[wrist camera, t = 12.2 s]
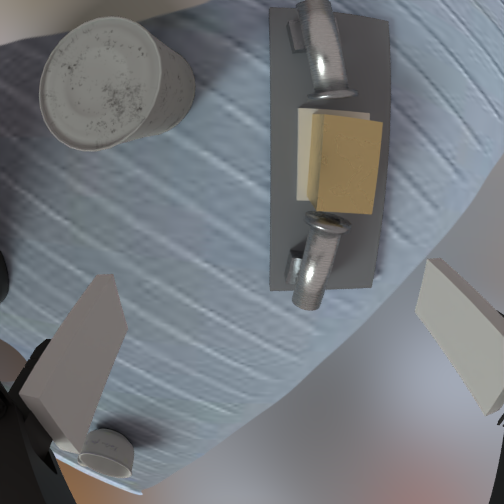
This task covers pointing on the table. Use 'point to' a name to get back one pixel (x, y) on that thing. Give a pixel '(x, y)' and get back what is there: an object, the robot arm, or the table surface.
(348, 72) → the board
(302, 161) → the off-white flat plate
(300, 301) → the shaft
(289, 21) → the shaft
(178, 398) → the table surface
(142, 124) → the speckled tin can
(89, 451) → the teacup
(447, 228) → the table surface
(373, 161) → the coupler
